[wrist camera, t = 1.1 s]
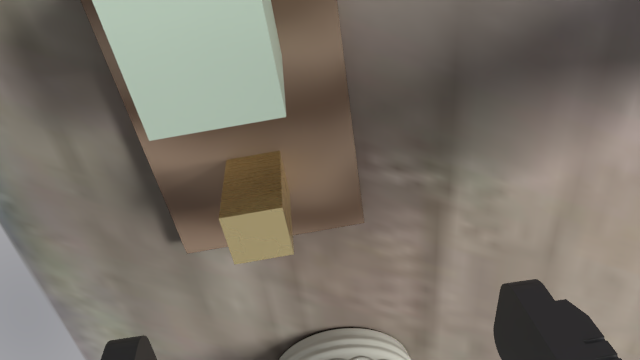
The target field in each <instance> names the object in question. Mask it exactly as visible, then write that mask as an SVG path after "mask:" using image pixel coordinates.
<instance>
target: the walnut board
mask: <svg viewBox="0 0 640 360" xmlns="http://www.w3.org/2000/svg"><path fill="white" fill-rule="evenodd" d="M80 1H81V3H82V5H83V8H84V10H85V12H86V15H87V17H88V20H89V22H90V24H91V27H92V29H93V31H94V34H95V36H96V39H97V41H98V43H99V46H100V48H101V50H102V53H103V55H104V58H105V60H106V62H107V65H108V67H109V69H110V72H111V74H112V77H113V79H114V81H115V84H116V86H117V88H118V91H119V93H120V96H121V98H122V100H123V103H124V105H125V107H126V110H127V112H128V115H129V117H130V119H131V122H132V124H133V126H134V129H135V131H136V134H137V136H138V138H139V141H140V143H141V145H142V148H143V150H144V153H145V155H146V157H147V160H148V162H149V164H150V167H151V169H152V172H153V174H154V176H155V179H156V181H157V183H158V186H159V188H160V191H161V193H162V195H163V198H164V200H165V202H166V205H167V207H168V210H169V212H170V214H171V217H172V219H173V222H174V224H175V226H176V229H177V231H178V233H179V236H180V238H181V241H182V243H183V245H184V248H185V250H186V252H187V254H188V253H194V252H199V251H205V250H211V249H217V248H222V247H228V244H227V241H226V238H225V236H224V233H223V230H222V227H221V224H220V221H219V212H220V204H221V197H222V189H223V182H224V174H225V167H226V160H229V159H234V158H240V157H246V156H252V155H257V154H263V153H269V152H274V151H280V153H281V157H282V162H283V166H284V170H285V175H286V179H287V184H288V188H289V192H290V204H291V219H292V234H293V235H298V234H303V233H309V232H315V231H321V230H326V229H332V228H338V227H344V226H349V225H355V224H361V223H364V216H363V208H362V200H361V192H360V184H359V176H358V168H357V160H356V151H355V143H354V135H353V127H352V119H351V111H350V103H349V95H348V87H347V78H346V70H345V62H344V54H343V46H342V38H341V30H340V22H339V14H338V5H337V0H271V4H272V9H273V14H274V19H275V24H276V29H277V34H278V39H279V44H280V49H281V54H282V64H283V78H284V91H285V105H286V117H283V118H277V119H272V120H266V121H260V122H255V123H249V124H243V125H237V126H232V127H226V128H220V129H215V130H209V131H203V132H198V133H192V134H186V135H180V136H175V137H169V138H163V139H158V140H152V141H149V139H148V137H147V134H146V132H145V129H144V127H143V124H142V122H141V119H140V117H139V115H138V112H137V110H136V107H135V105H134V102H133V100H132V97H131V95H130V92H129V90H128V88H127V85H126V83H125V80H124V78H123V75H122V73H121V70H120V68H119V66H118V63H117V61H116V58H115V56H114V53H113V51H112V48H111V46H110V43H109V41H108V39H107V36H106V34H105V31H104V29H103V26H102V24H101V21H100V19H99V16H98V14H97V12H96V9H95V7H94V4H93V2H92V0H80Z"/></svg>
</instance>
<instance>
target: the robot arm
mask: <svg viewBox="0 0 640 360" xmlns="http://www.w3.org/2000/svg"><path fill="white" fill-rule="evenodd" d="M494 339H495V344H496V347H497V350H498V353H499V355H500V357H501V359H502V360H622V359H621V358H618V356H617V353H616V352H615V350H614V349H613V348H612V346H611V345H610V344H609V342H608V341H605V339H604V336H603V334H602V333H601V332H600V330H599V329H598V328H597V327H596V325H595V324H594V323H593V321H592V320H591V319H590V317H589V316H588V315H587V314H585V313H584V312H582V311H581V310H580V309H578V308H577V307H576V306H574V305H573V304H572V303H570V302H569V301H567V300H566V299H564V300H558V301H555V300H554V299H553V297H552V296H551V295H550V293H549V292H548V290H547V289H546V288H545V286H544V285H543V284H542V283H541V282H540V281H539V280H537V279H533V280H526V281H519V282H513V283H506V284H503V285H502V286H501V289H500V294H499V300H498V305H497V311H496V317H495V322H494ZM101 360H157V358H156V356H155V354H154V351H153V349H152V346H151V344H150V342H149V340H148V338H147V337H146V336H138V337H131V338H124V339H117V340H111V341H109V342H108V343H107V344H106V346H105V349H104V352H103V355H102V358H101Z"/></svg>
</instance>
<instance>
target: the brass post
mask: <svg viewBox="0 0 640 360" xmlns="http://www.w3.org/2000/svg"><path fill="white" fill-rule="evenodd" d="M219 221H220V224H221V227H222V230H223V233H224V236H225V238H226V241H227V244H228V247H229V250H230V253H231V256H232V258H233V261H234V264H241V263H247V262H252V261H258V260H264V259H270V258H275V257H281V256H287V255H293V254H294V249H293V234H292V219H291V204H290V192H289V188H288V184H287V179H286V175H285V170H284V166H283V162H282V157H281V153H280V151H274V152H269V153H263V154H257V155H252V156H246V157H240V158H234V159H229V160H226V167H225V174H224V182H223V189H222V197H221V204H220V212H219Z"/></svg>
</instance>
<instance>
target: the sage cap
mask: <svg viewBox="0 0 640 360" xmlns="http://www.w3.org/2000/svg"><path fill="white" fill-rule="evenodd" d="M92 2H93V4H94V7H95V9H96V12H97V14H98V16H99V19H100V21H101V24H102V26H103V29H104V31H105V34H106V36H107V39H108V41H109V43H110V46H111V48H112V51H113V53H114V56H115V58H116V61H117V63H118V66H119V68H120V70H121V73H122V75H123V78H124V80H125V83H126V85H127V88H128V90H129V92H130V95H131V97H132V100H133V102H134V105H135V107H136V110H137V112H138V115H139V117H140V119H141V122H142V124H143V127H144V129H145V132H146V134H147V137H148V139H149V141H152V140H158V139H163V138H169V137H175V136H180V135H186V134H192V133H198V132H203V131H209V130H215V129H220V128H226V127H232V126H237V125H243V124H249V123H255V122H260V121H266V120H272V119H277V118H283V117H286V105H285V91H284V78H283V64H282V54H281V49H280V44H279V39H278V34H277V29H276V24H275V19H274V14H273V9H272V4H271V0H92Z"/></svg>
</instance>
